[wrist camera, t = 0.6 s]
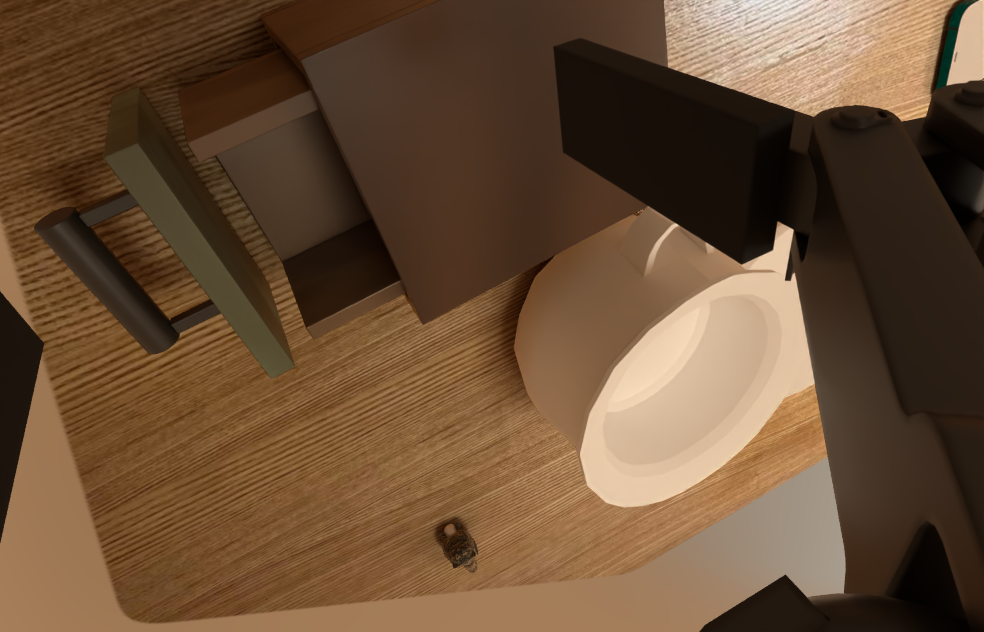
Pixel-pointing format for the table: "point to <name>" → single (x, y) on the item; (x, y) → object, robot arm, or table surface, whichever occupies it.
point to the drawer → (205, 231)
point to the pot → (656, 355)
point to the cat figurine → (459, 547)
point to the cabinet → (462, 127)
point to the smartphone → (964, 45)
